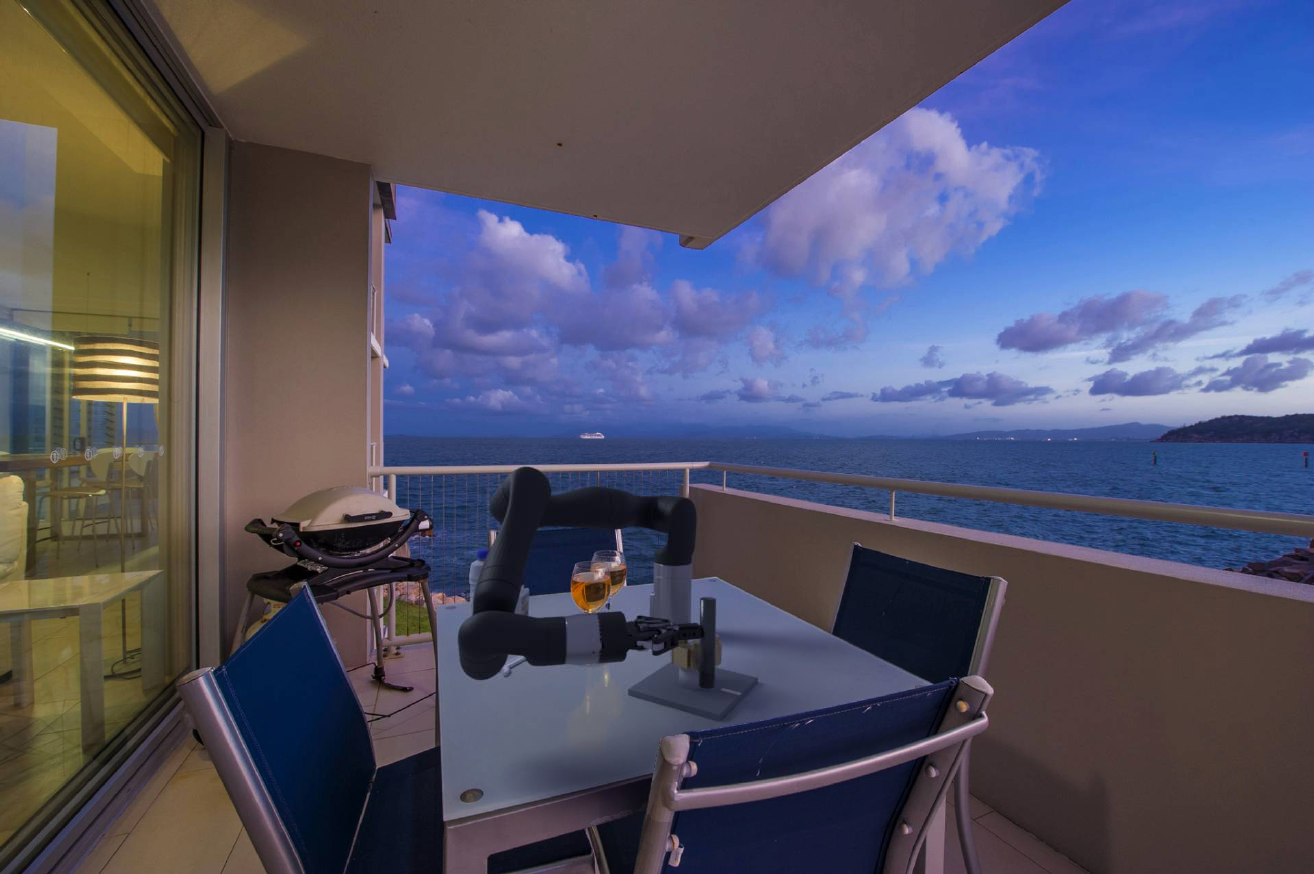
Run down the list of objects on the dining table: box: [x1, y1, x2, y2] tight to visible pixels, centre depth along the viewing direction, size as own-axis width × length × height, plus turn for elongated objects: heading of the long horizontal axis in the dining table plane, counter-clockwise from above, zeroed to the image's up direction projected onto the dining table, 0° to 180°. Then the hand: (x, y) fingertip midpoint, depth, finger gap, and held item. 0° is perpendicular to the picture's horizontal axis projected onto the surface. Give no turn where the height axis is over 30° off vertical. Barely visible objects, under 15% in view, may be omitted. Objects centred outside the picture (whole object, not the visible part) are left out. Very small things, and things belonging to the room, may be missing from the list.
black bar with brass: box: [669, 596, 722, 690], centre depth 99 cm, size 19×9×15 cm, turn 4°
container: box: [515, 576, 530, 616], centre depth 142 cm, size 8×8×13 cm
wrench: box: [499, 656, 527, 677], centre depth 118 cm, size 25×5×2 cm, turn 156°
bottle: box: [468, 548, 490, 618], centre depth 133 cm, size 7×7×20 cm
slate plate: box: [627, 639, 759, 722], centre depth 103 cm, size 18×18×9 cm
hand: (699, 630), depth 90 cm, fingers closed
